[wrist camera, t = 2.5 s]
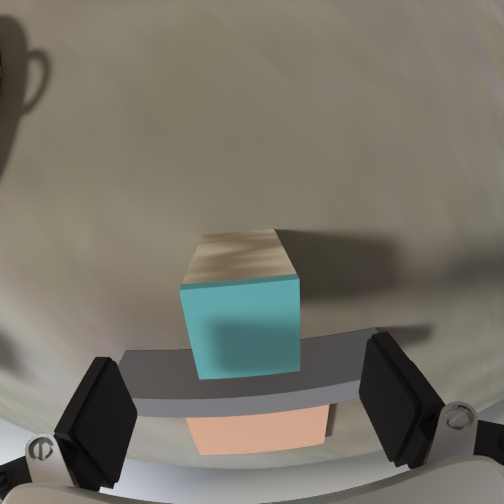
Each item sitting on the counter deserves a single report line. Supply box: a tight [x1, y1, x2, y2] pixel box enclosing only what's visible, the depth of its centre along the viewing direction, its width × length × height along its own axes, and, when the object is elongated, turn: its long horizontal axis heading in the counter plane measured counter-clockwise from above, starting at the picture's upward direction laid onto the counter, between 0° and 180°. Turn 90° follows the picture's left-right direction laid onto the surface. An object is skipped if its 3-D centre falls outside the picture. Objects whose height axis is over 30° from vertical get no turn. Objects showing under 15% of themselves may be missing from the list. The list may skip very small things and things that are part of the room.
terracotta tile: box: [186, 405, 329, 455], centre depth 26 cm, size 14×10×1 cm
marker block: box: [179, 229, 300, 380], centre depth 17 cm, size 5×5×9 cm
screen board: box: [118, 328, 378, 418], centre depth 21 cm, size 22×2×6 cm, turn 95°
